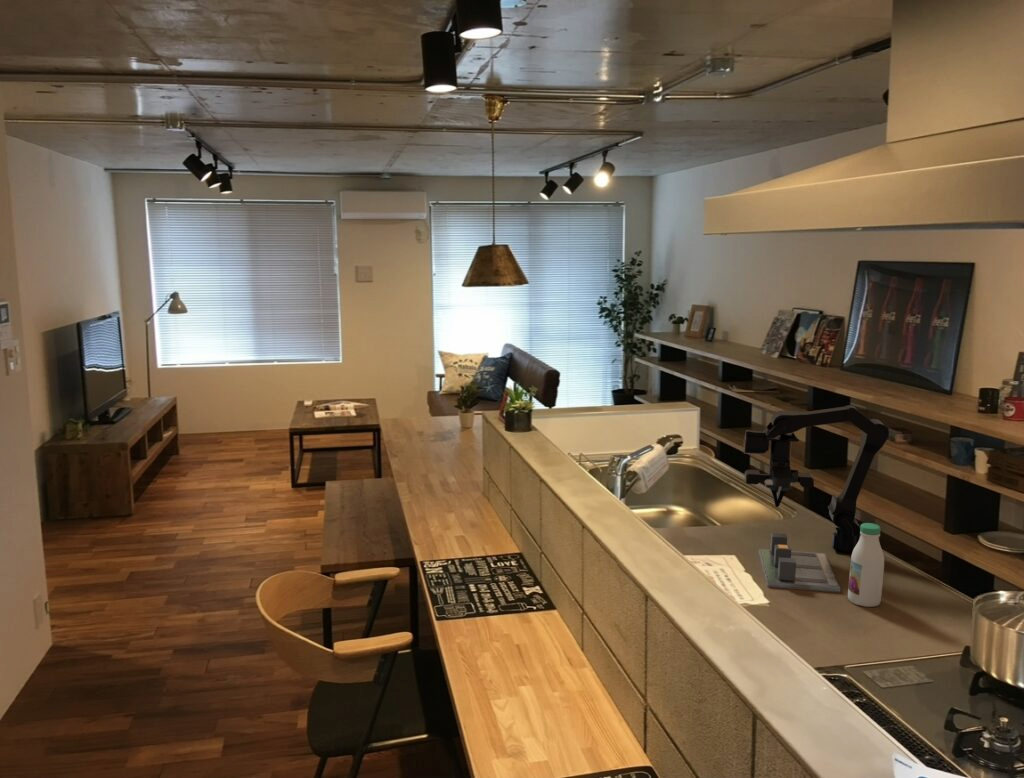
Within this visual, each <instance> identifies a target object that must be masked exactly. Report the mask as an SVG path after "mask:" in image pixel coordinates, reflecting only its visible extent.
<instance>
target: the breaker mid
mask: <svg viewBox="0 0 1024 778" xmlns="http://www.w3.org/2000/svg"><path fill="white" fill-rule="evenodd" d="M791 551H792V548H791V545H788V544H787V545H775V550H774V565H775V566H778V563H779V557H782V558H791Z"/></svg>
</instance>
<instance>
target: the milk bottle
mask: <svg viewBox="0 0 1024 778" xmlns="http://www.w3.org/2000/svg"><path fill="white" fill-rule="evenodd" d="M881 530H882V529H881V526H880V525H879V524H876V523H871V522H863V523H861V524H860V538H859V541H858V543H857V545H856V546H855V548H854V550H853V552H852V554H851V557H850V564H849V565H850V567H849V576H848V577H849V578H848V589H847V599H848V600H849V601H850V602H851V603H852V604H854V605H857V606H861V607H867V608H873V607H878V606H879V605H880V604H881V602H882V593H883V582H884V572H885V571H884V570H885V556H884V551H883V549H882V546H881V543H880V537H881Z"/></svg>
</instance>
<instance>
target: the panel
mask: <svg viewBox="0 0 1024 778" xmlns="http://www.w3.org/2000/svg"><path fill="white" fill-rule="evenodd" d="M758 555H759V558H760V563H761V567H762V571H763V575H764V580H765V583H766V586H767V588H777V589H778V588H779V589H791V590H792V589H793V590H804V591H816V592H817V591H818V592H829V593H841V585H840V584H839V581H838V580H837V579H838V578H837V576H836V574H835V572H834V570H833V568H832V566H831V563H830V561H829V559H828V557H827V555H826V553H825V552H809V551H797V550H796V551H795V550H791V558H795V561H796V574H795V581H790V580H779V578H778V566H775V565H774V554H772V553H771V550H770V549H769V548H768V549H767V548H759V549H758Z"/></svg>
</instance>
